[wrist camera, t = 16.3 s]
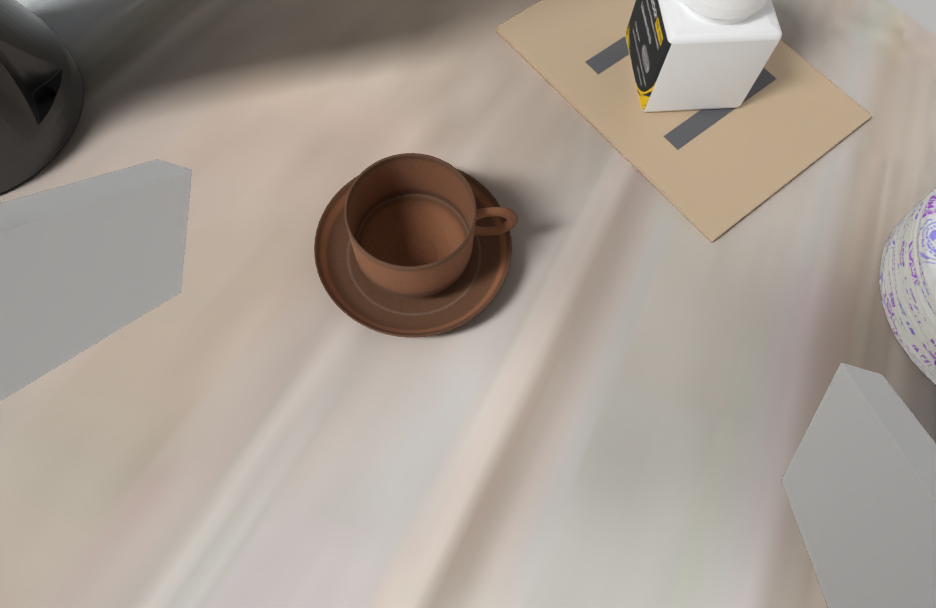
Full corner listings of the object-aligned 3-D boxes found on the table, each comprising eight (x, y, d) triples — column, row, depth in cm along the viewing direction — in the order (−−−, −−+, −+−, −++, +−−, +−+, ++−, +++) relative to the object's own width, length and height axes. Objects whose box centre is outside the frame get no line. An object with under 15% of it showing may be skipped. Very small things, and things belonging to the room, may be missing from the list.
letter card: (496, 30, 53) (496, 26, 52) (652, -64, 57) (653, -68, 57) (711, 242, 47) (714, 239, 46) (868, 119, 51) (872, 115, 50)
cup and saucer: (458, 151, 49) (460, 92, 43) (542, 298, 45) (557, 254, 39) (291, 217, 47) (270, 164, 41) (364, 379, 43) (352, 344, 37)
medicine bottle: (623, 34, 53) (671, -118, 41) (718, 30, 53) (791, -122, 42) (640, 114, 50) (697, -26, 39) (740, 109, 50) (825, -30, 39)
